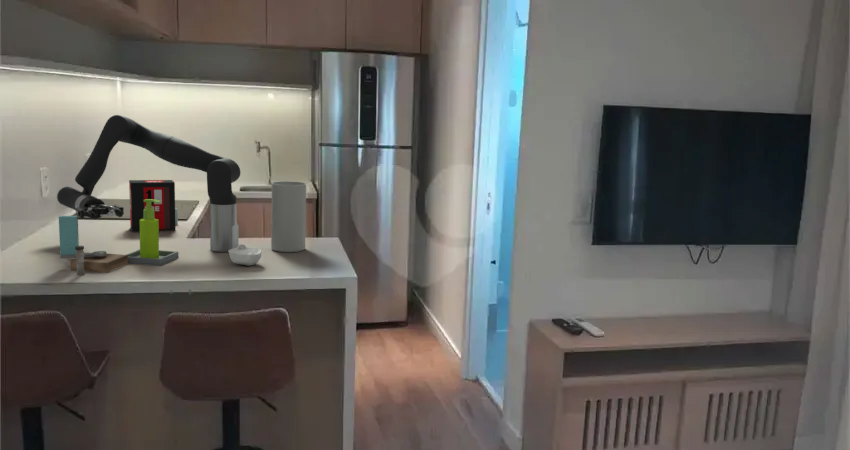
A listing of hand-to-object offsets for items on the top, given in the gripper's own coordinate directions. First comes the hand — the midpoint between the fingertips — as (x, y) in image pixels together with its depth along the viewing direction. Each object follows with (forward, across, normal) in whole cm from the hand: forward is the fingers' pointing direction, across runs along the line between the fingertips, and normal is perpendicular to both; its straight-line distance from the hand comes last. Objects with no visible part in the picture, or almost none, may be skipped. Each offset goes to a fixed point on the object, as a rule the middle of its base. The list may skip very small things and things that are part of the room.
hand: (108, 215), depth 227 cm
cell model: (+35, +31, +13) cm, 49 cm away
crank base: (+14, -10, +14) cm, 22 cm away
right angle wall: (-53, +44, +18) cm, 71 cm away
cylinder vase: (+23, +57, +14) cm, 63 cm away
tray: (+12, +9, +14) cm, 21 cm away
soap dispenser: (+12, +9, +14) cm, 20 cm away
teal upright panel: (+10, -11, +11) cm, 19 cm away
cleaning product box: (-40, +33, +16) cm, 54 cm away
